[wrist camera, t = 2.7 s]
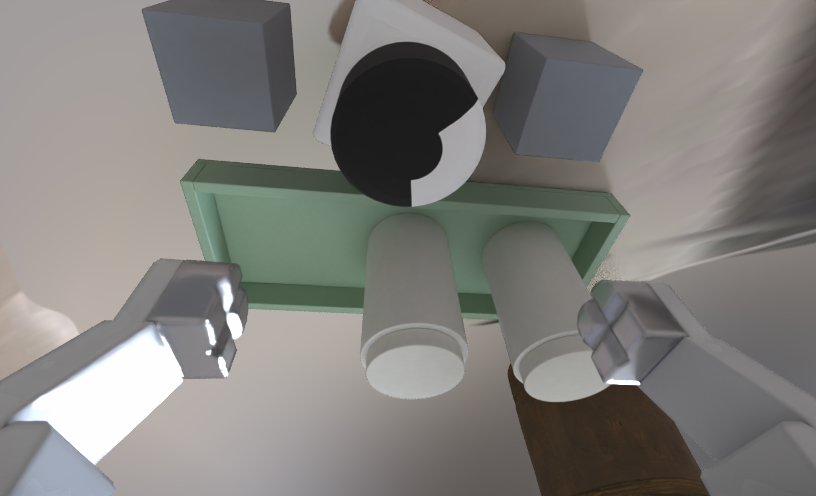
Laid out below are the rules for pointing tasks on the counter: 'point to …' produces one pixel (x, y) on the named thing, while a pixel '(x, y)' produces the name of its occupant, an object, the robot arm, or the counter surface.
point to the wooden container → (606, 445)
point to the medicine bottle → (407, 102)
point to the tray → (369, 231)
